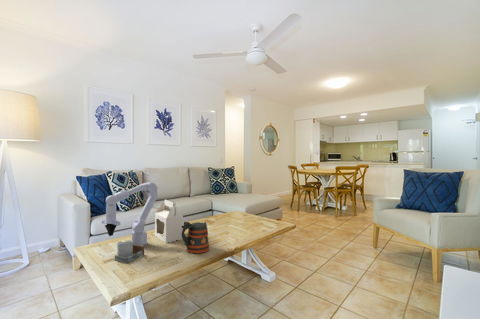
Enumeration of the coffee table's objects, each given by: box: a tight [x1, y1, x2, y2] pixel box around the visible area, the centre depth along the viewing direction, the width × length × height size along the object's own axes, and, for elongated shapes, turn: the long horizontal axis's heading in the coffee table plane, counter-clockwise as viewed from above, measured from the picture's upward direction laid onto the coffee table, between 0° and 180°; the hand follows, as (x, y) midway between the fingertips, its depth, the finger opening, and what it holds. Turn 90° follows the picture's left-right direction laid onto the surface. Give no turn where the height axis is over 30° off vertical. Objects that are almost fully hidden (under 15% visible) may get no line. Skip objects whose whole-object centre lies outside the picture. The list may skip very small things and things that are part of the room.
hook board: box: [114, 241, 145, 264], centre depth 137 cm, size 13×21×5 cm, turn 67°
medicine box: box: [116, 240, 134, 258], centre depth 136 cm, size 8×4×9 cm, turn 125°
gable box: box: [154, 199, 184, 244], centre depth 172 cm, size 22×13×28 cm, turn 40°
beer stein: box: [182, 221, 210, 254], centre depth 147 cm, size 19×15×20 cm
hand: (110, 235), depth 145 cm, fingers closed
